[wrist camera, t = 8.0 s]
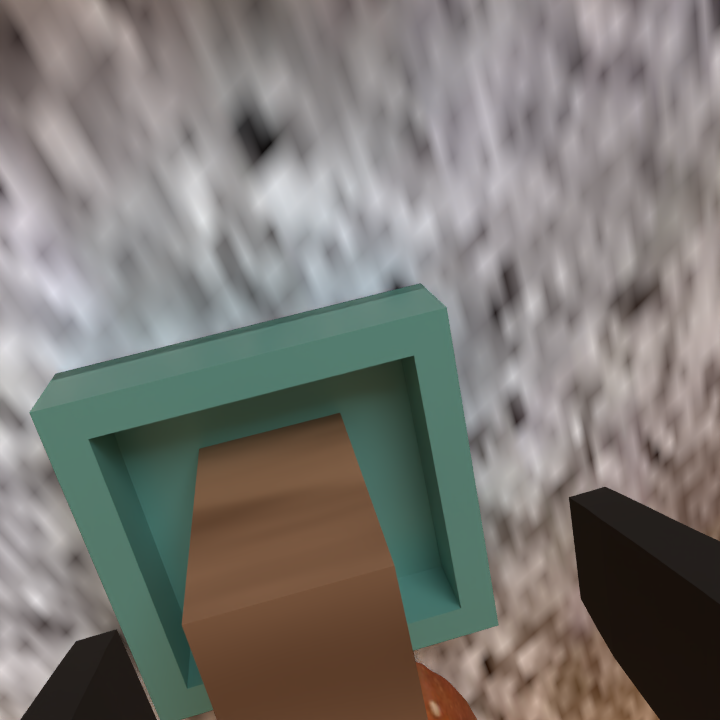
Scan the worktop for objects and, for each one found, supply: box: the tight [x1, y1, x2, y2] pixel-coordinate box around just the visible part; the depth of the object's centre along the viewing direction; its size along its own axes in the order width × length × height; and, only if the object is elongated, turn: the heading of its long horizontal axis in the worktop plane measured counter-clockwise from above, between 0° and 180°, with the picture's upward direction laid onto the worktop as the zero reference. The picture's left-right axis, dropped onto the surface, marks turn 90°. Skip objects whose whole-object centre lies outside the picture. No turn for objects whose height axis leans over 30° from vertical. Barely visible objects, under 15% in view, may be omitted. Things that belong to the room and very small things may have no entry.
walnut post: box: [182, 413, 428, 720], centre depth 17 cm, size 4×4×7 cm
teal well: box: [29, 283, 498, 720], centre depth 19 cm, size 10×10×2 cm
